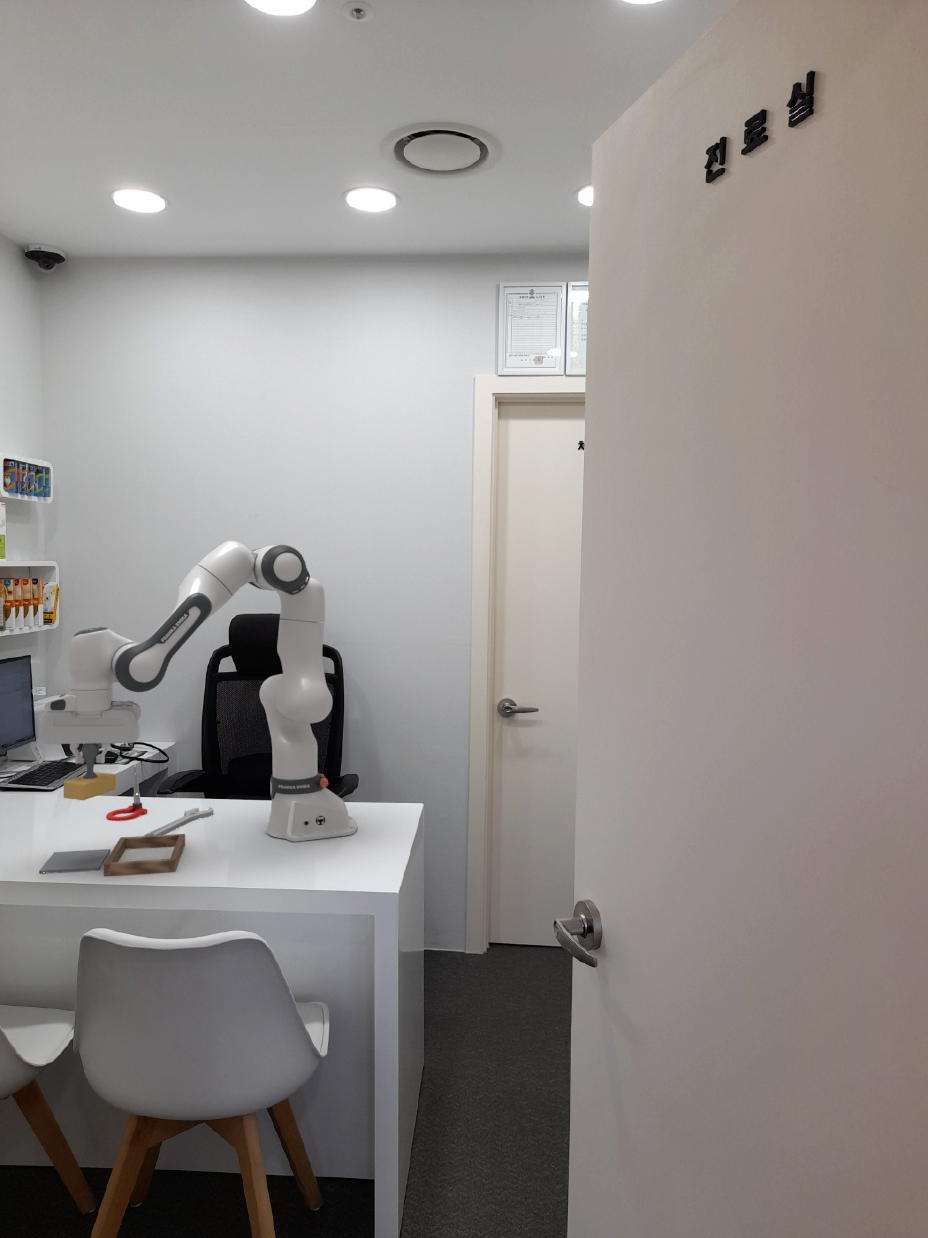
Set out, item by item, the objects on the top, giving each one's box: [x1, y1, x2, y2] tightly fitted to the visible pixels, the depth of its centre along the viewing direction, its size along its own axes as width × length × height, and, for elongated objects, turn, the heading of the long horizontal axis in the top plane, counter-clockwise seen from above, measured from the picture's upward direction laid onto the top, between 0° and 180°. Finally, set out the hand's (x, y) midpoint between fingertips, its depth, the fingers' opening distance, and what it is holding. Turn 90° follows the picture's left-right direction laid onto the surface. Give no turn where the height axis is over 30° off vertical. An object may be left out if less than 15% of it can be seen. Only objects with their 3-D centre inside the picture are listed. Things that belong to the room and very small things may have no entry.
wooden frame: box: [103, 833, 186, 877], centre depth 185 cm, size 14×18×2 cm
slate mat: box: [38, 848, 112, 874], centre depth 183 cm, size 12×12×1 cm
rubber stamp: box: [63, 743, 117, 801], centre depth 182 cm, size 10×6×12 cm, turn 163°
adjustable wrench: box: [143, 807, 214, 836], centre depth 210 cm, size 25×6×2 cm, turn 159°
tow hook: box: [105, 765, 148, 822], centre depth 217 cm, size 8×13×9 cm
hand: (90, 763), depth 182 cm, fingers closed on rubber stamp, 3 cm apart
